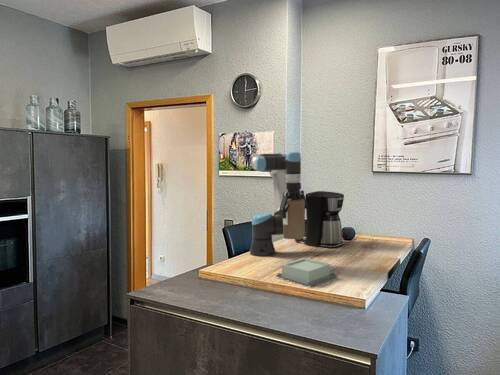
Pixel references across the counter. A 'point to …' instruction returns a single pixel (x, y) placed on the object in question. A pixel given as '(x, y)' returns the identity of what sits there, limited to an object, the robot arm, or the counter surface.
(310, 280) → the plate
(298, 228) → the block
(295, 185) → the robot arm
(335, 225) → the coffee maker
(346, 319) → the counter surface
